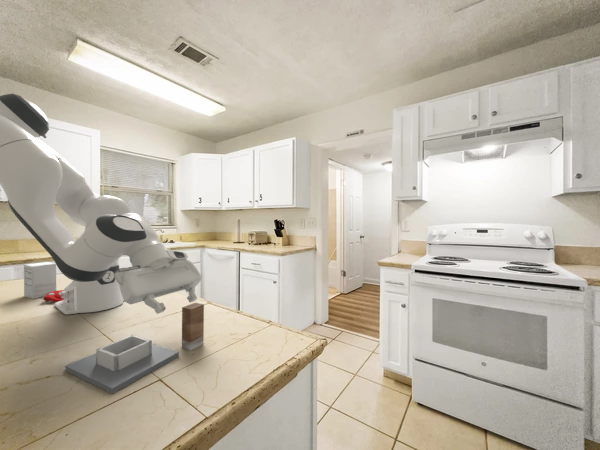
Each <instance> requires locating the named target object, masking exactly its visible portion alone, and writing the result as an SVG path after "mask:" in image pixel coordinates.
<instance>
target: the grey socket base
mask: <svg viewBox="0 0 600 450" xmlns="http://www.w3.org/2000/svg"><path fill="white" fill-rule="evenodd" d="M95 351H96V352H95V353H92V354H90V355H88V356H85V357H83V358H80V359H78V360H76V361H74V362H71V363H69V364H66V365H65V366H64V370H65V372H67V373H70V374H71V375H73V376H75V377H76V378H79V379H81V380H83V381H86V382H88V383H89V384H92V385H93V386H96V387H97V388H99V389H102V390H103V391H106V392H108V393H110V394H114V393H116V392H118V391H120V390H122V389H123V388H126V387H127V386H128V385H131V384H133V383H134V382H135V381H138V380H140V378H143V377H145V376H147V375H148V374H150V373H152V372H154V371H155V370H157V369H159V368H160V367H162V366H163V365H165V364H168V363H169V362H171V361H172V360H175V359H176V358H178V357H179V356H180V355H179V351H177V350H173V349H171V348H169V347H168V348H167V347H165V346H162V345H158V344H155V343H153V341H152V339H148V338H146V337H141V336H138V335H135V334H131V335H129V336H126V337H124V338H121V339H119V340H115V341H114V342H112V343H111V342H110V343H108V344H106V345H104V346H101V347H99V348H97V349H96V350H95Z"/></svg>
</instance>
